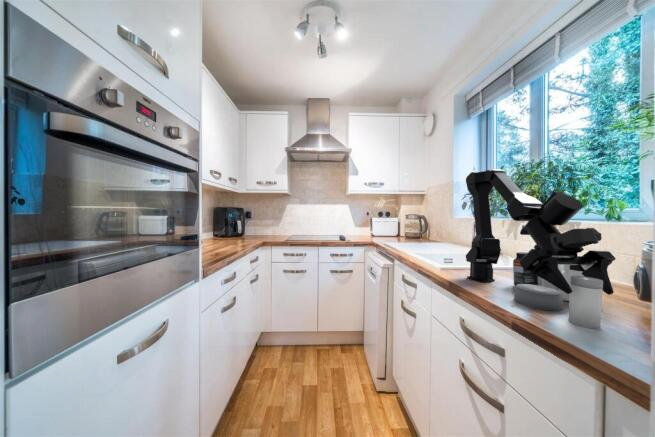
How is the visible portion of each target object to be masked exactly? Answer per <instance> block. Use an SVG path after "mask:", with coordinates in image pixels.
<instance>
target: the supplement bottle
mask: <svg viewBox="0 0 655 437" xmlns="http://www.w3.org/2000/svg"><path fill="white" fill-rule="evenodd" d="M527 253H528V252H523V251H522V252H521V251H519V252H516V254H515V255H516V257H515V258H514V259H513V261H512V268H513V270H512V274H513V286H514V287H515V286H516V285H518V284H532V285H537V282H536V275H535V274H531V273H530V271H524V269H523V268H522V266H521V265H520V260H521V259H522V258H523V257H524V256H525V255H526V254H527Z"/></svg>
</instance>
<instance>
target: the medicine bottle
mask: <svg viewBox="0 0 655 437" xmlns="http://www.w3.org/2000/svg"><path fill="white" fill-rule="evenodd" d="M563 270H564V272H561V273H562V275H563V276H564V278H565V279H566V281H567V283H568V284H569V286H570V281H571V276H584V275H582V274H581V273H582V272H583V271H581V270H579V269H578V268H577V267H576V265H564V266H563ZM584 277H585V276H584ZM558 291H560V292H561V293H562V294H563V301H566V302H569V299H570V294H567V293H565V292H564V291H562V290H560V289H559V288H558Z"/></svg>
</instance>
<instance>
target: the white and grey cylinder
mask: <svg viewBox="0 0 655 437" xmlns="http://www.w3.org/2000/svg"><path fill="white" fill-rule="evenodd" d="M570 288H571V289H572V293H570V299H569V301H568V302H569V305H568V318H567V319H568V322H569V323H571V324H573V325H577V326H580V327H584V328H588V329H596V330H597V329H598V330H599V329H600V328H601V327H602V326H601V324H602V323H601V322H602V307H603V292H604V291H603V280H600V279H596V278H591V277H584V276H571V281H570Z"/></svg>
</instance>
